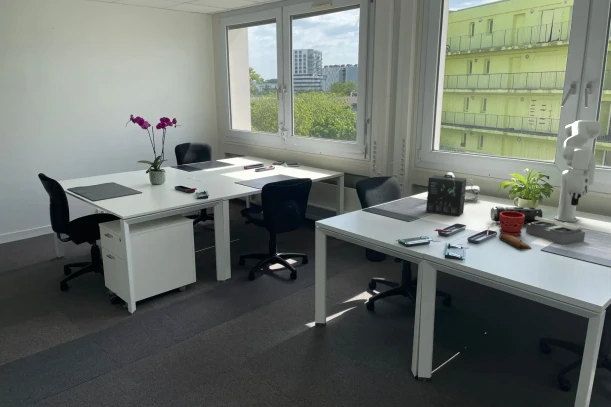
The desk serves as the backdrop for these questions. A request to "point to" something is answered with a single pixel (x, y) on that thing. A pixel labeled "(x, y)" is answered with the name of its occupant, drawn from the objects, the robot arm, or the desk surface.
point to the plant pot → (511, 222)
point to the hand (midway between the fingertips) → (574, 205)
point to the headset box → (446, 195)
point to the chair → (469, 187)
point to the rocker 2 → (565, 226)
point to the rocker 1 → (545, 220)
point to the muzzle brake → (528, 212)
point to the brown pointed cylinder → (515, 242)
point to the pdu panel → (555, 232)
